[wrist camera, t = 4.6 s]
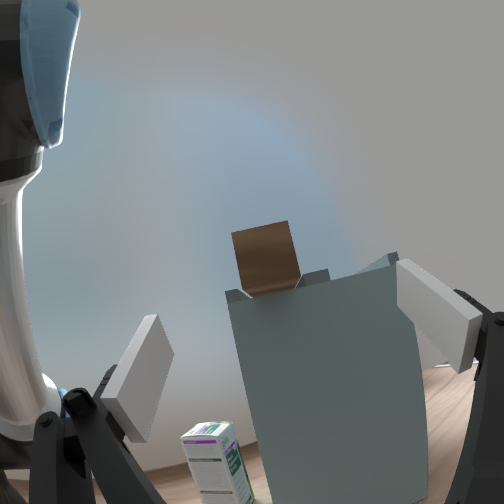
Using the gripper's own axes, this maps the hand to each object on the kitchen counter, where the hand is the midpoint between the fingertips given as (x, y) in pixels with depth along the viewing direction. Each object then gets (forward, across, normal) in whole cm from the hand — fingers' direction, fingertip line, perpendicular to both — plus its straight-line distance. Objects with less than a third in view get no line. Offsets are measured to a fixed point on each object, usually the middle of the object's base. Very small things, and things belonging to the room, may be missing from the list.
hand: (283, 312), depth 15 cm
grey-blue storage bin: (+6, +4, -36) cm, 37 cm away
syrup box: (+5, -12, -36) cm, 38 cm away
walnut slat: (+17, 0, -8) cm, 19 cm away
